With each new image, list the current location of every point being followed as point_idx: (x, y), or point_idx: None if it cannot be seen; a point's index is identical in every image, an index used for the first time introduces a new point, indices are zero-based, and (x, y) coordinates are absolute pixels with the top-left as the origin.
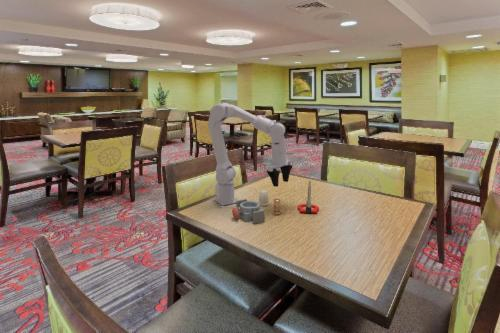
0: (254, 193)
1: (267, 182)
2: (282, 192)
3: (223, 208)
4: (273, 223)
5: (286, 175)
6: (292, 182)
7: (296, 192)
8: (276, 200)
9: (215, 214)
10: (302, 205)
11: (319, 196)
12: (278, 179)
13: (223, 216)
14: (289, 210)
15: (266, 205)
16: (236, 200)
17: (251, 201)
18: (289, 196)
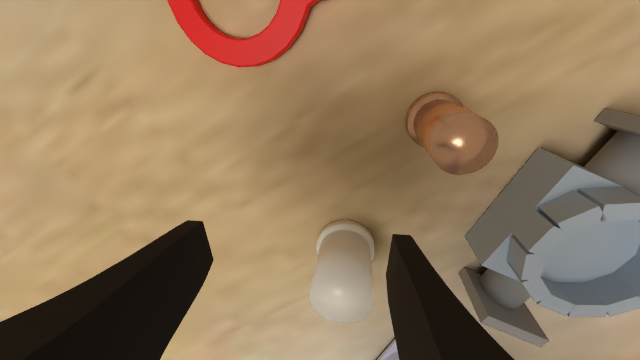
0: (259, 325)
1: None
2: None
3: None
4: (618, 38)
5: (151, 290)
6: (28, 267)
7: (97, 194)
8: (484, 140)
9: (588, 341)
10: (234, 39)
11: (21, 54)
12: (421, 301)
13: None
14: (340, 81)
15: (356, 223)
16: (394, 344)
17: (531, 283)
18: (166, 194)
